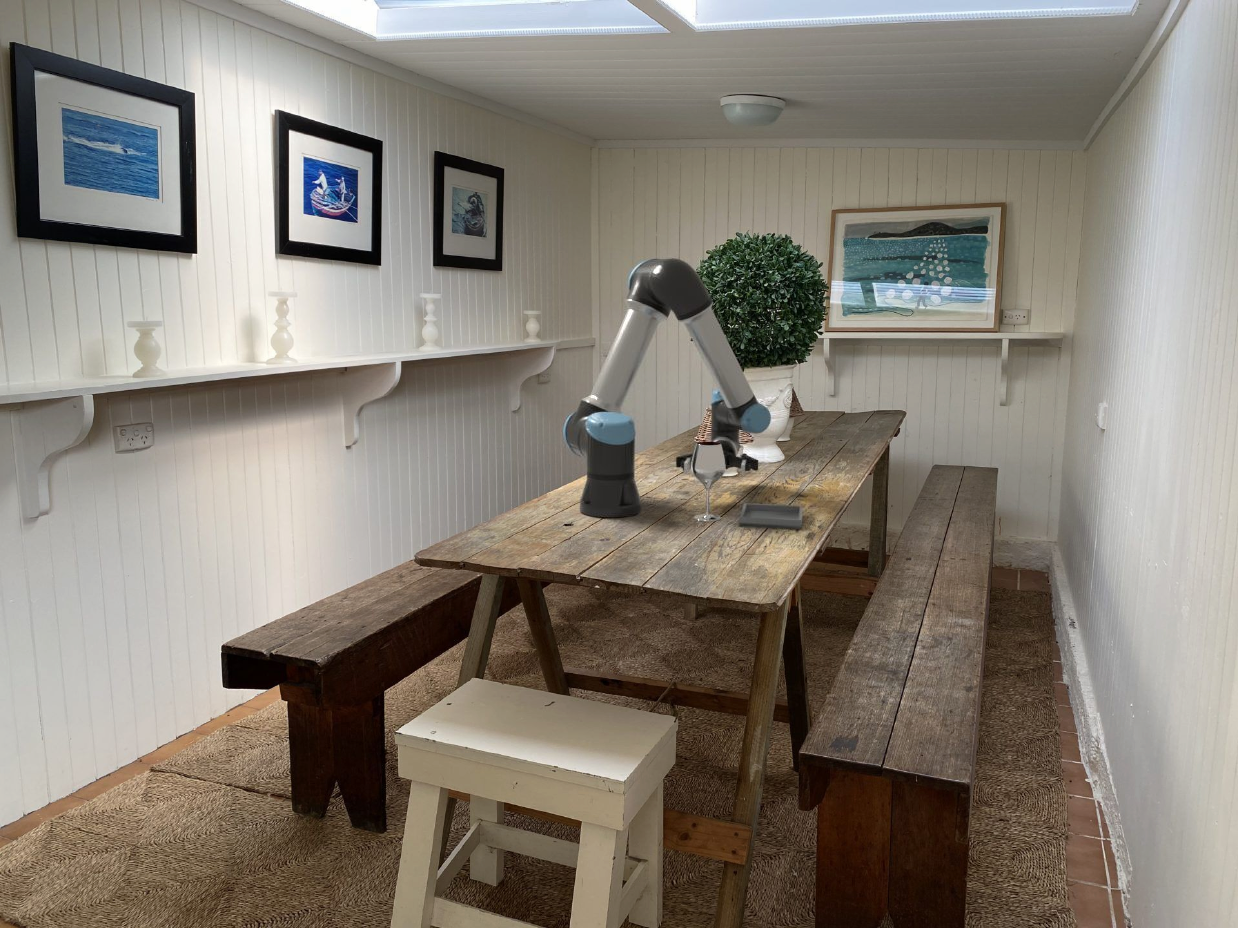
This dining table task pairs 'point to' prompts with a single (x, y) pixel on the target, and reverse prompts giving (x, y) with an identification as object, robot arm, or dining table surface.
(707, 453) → the wineglass
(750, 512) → the tray
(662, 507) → the dining table surface
